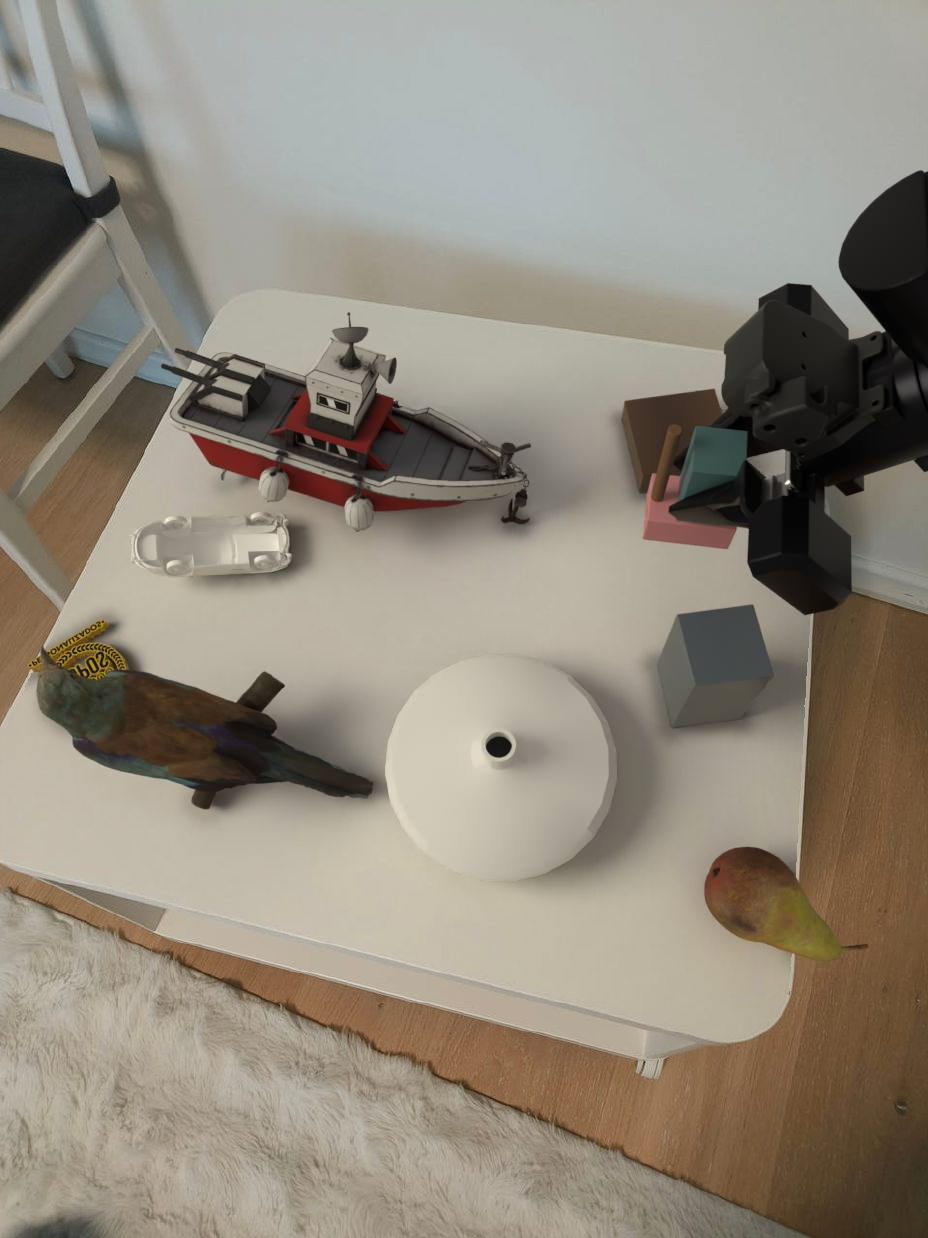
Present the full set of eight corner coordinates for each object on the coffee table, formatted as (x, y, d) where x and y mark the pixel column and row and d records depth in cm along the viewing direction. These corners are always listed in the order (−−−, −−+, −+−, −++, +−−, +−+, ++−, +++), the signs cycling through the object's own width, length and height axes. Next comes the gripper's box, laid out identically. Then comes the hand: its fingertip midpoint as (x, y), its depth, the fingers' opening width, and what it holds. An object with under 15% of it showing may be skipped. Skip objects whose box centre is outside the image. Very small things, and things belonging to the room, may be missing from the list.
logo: (103, 617, 66) (147, 695, 63) (107, 621, 67) (151, 698, 64) (26, 663, 65) (67, 745, 62) (31, 666, 66) (72, 748, 63)
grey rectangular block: (723, 655, 63) (753, 603, 54) (740, 719, 61) (774, 675, 52) (656, 664, 63) (676, 613, 55) (671, 728, 61) (694, 686, 52)
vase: (396, 897, 57) (380, 885, 51) (386, 678, 64) (371, 642, 57) (629, 876, 57) (643, 860, 50) (595, 658, 63) (604, 619, 57)
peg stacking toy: (730, 502, 56) (768, 412, 48) (727, 549, 55) (766, 466, 46) (647, 493, 57) (669, 403, 48) (642, 539, 56) (664, 455, 47)
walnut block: (708, 407, 72) (714, 387, 70) (730, 481, 69) (737, 463, 66) (621, 419, 72) (624, 400, 70) (639, 493, 69) (643, 476, 67)
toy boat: (214, 405, 76) (200, 218, 62) (532, 507, 75) (588, 340, 62) (142, 501, 68) (108, 310, 54) (498, 616, 67) (554, 452, 54)
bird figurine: (399, 714, 61) (180, 585, 47) (359, 850, 58) (108, 754, 44) (278, 707, 69) (60, 595, 55) (236, 826, 66) (-8, 739, 52)
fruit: (753, 868, 49) (916, 990, 49) (743, 815, 54) (890, 925, 55) (689, 925, 51) (846, 1042, 51) (686, 869, 56) (828, 976, 57)
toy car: (287, 507, 68) (286, 528, 71) (128, 514, 65) (135, 535, 68) (292, 561, 66) (291, 580, 69) (129, 570, 63) (136, 590, 66)
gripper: (858, 146, 41) (606, 300, 52) (864, 470, 33) (570, 566, 45) (954, 285, 47) (710, 395, 58) (978, 584, 40) (693, 643, 51)
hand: (674, 488), depth 53 cm, fingers closed on peg stacking toy, 3 cm apart
